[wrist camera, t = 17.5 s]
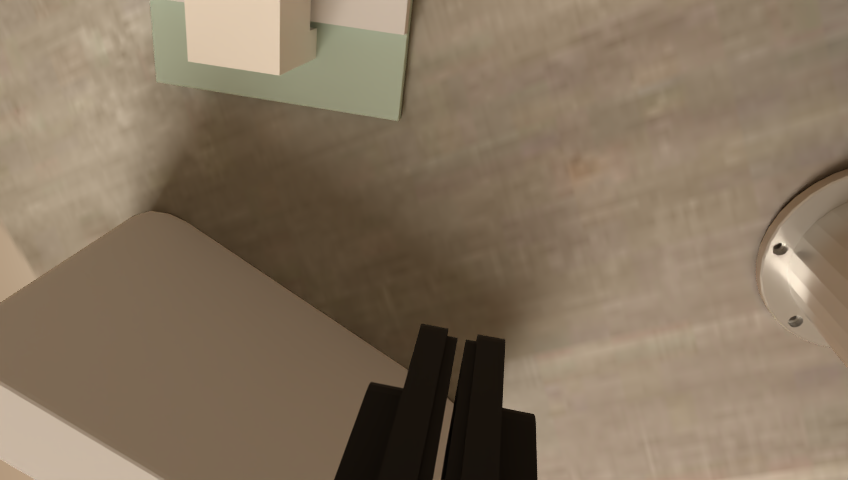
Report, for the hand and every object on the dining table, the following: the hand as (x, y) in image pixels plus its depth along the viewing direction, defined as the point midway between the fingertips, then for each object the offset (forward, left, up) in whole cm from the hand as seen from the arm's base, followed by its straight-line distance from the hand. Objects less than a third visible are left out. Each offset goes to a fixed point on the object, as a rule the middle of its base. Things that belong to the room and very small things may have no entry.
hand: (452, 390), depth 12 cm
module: (+14, -5, -26) cm, 30 cm away
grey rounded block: (+12, +20, -27) cm, 36 cm away
